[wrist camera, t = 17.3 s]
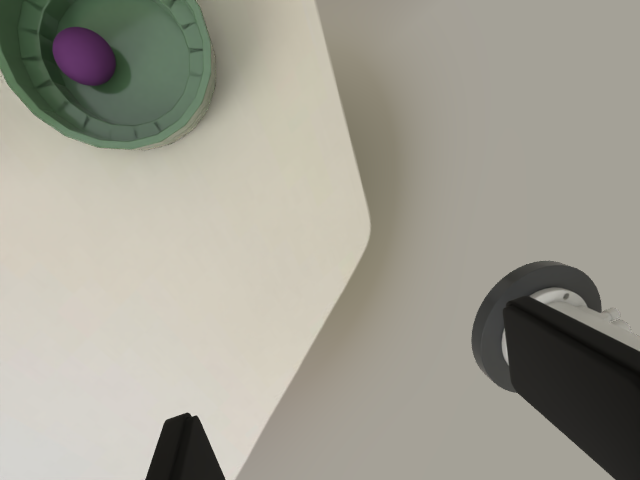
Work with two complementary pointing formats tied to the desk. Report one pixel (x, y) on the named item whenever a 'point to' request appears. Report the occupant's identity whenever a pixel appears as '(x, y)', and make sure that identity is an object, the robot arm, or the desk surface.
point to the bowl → (130, 73)
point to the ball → (84, 56)
